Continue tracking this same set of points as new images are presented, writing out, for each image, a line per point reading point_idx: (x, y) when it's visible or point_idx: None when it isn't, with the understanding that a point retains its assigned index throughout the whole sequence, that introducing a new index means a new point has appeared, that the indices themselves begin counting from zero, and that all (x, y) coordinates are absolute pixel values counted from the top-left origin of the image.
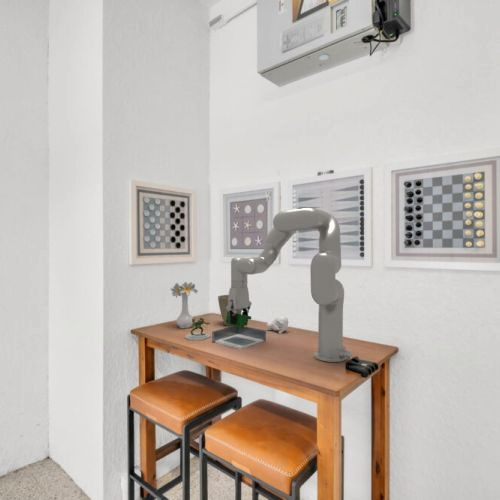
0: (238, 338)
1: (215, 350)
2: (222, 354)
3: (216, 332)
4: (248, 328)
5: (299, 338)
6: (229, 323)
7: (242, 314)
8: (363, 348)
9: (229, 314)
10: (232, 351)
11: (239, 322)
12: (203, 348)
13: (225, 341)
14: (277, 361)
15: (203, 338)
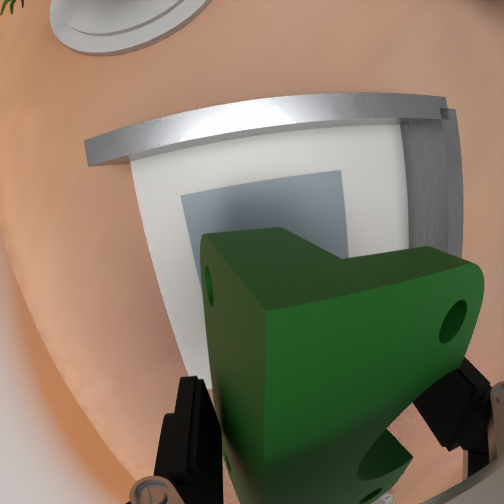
0: (316, 235)
1: (67, 314)
2: (79, 379)
3: (127, 155)
4: (443, 247)
5: (489, 372)
6: (207, 320)
7: (453, 379)
8: (449, 475)
9: (135, 491)
10: (138, 382)
11: (232, 475)
12: (27, 237)
13: (185, 233)
14: (225, 499)
15: (108, 51)
